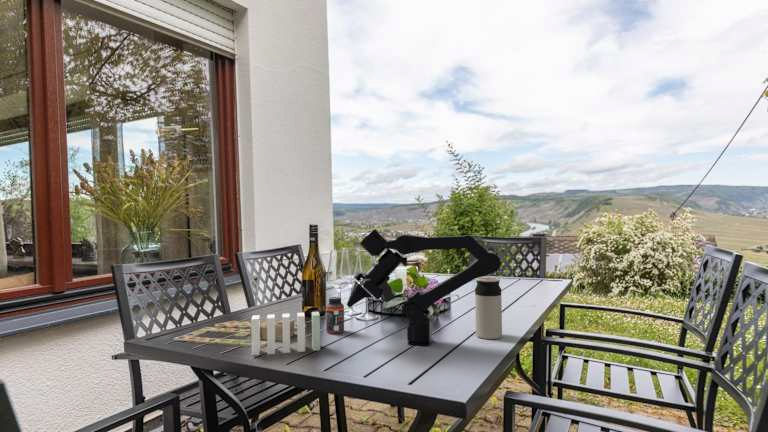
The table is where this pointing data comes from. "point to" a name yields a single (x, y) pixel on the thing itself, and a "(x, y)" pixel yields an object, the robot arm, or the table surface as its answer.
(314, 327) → the domino
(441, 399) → the table surface
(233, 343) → the pile of dominoes
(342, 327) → the supplement bottle
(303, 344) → the domino
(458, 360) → the table surface
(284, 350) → the domino
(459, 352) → the table surface
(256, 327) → the domino
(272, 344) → the domino
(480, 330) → the travel mug
